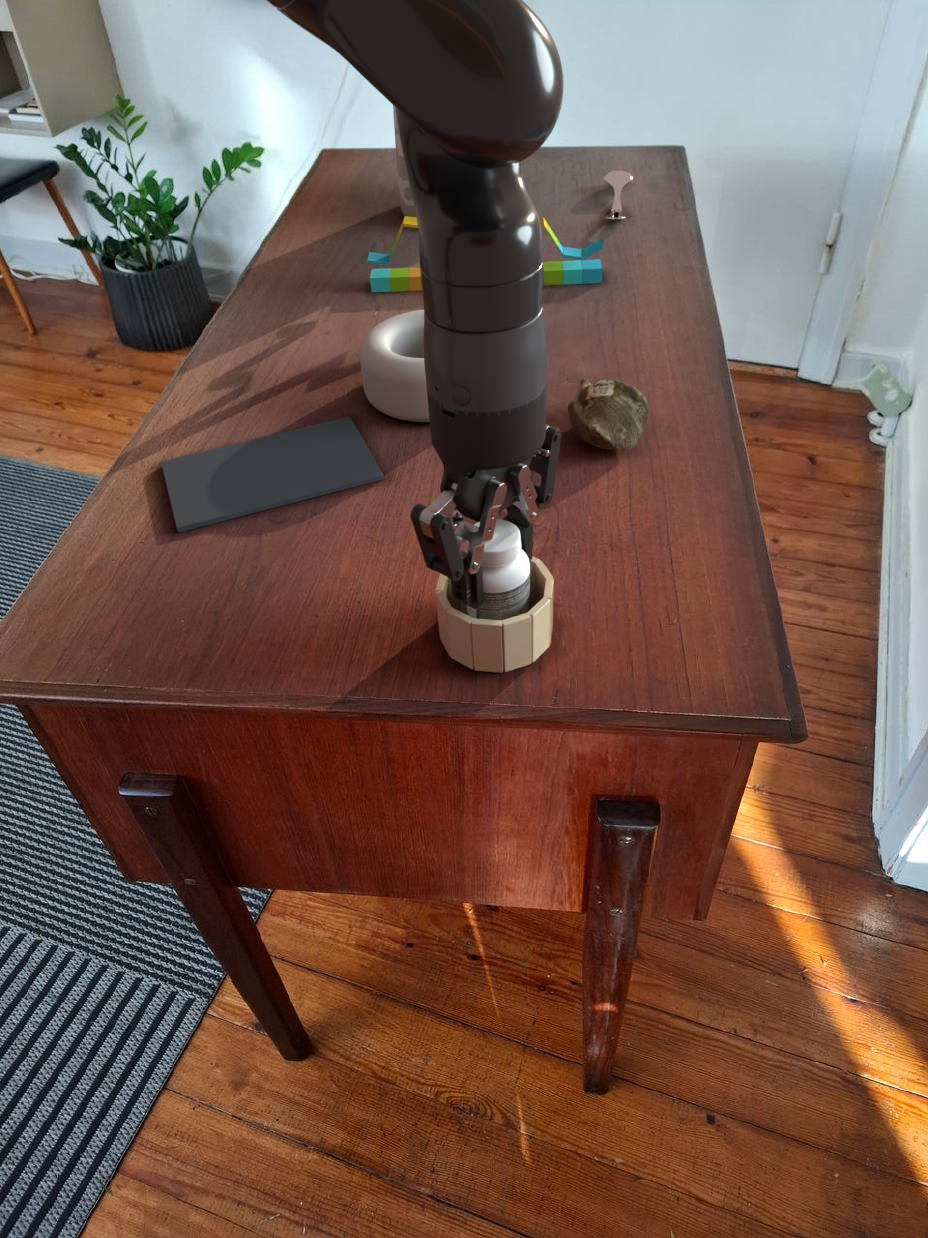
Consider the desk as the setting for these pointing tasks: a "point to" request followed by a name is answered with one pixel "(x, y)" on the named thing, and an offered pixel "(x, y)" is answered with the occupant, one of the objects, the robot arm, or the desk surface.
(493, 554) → the pill bottle
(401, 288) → the chart
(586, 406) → the fossilized seashell
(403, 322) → the fat ring
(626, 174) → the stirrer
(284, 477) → the mat
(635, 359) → the desk surface
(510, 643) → the bracelet
